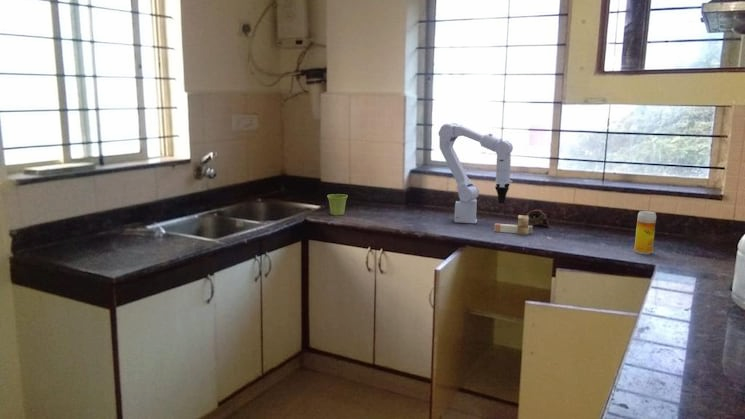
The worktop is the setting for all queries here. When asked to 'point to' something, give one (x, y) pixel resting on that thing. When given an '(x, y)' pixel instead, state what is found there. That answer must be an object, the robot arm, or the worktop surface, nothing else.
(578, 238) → the worktop surface
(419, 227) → the worktop surface
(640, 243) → the pill bottle
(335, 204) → the plant pot
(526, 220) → the tan wooden brick
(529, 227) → the white bar
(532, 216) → the pottery mug
